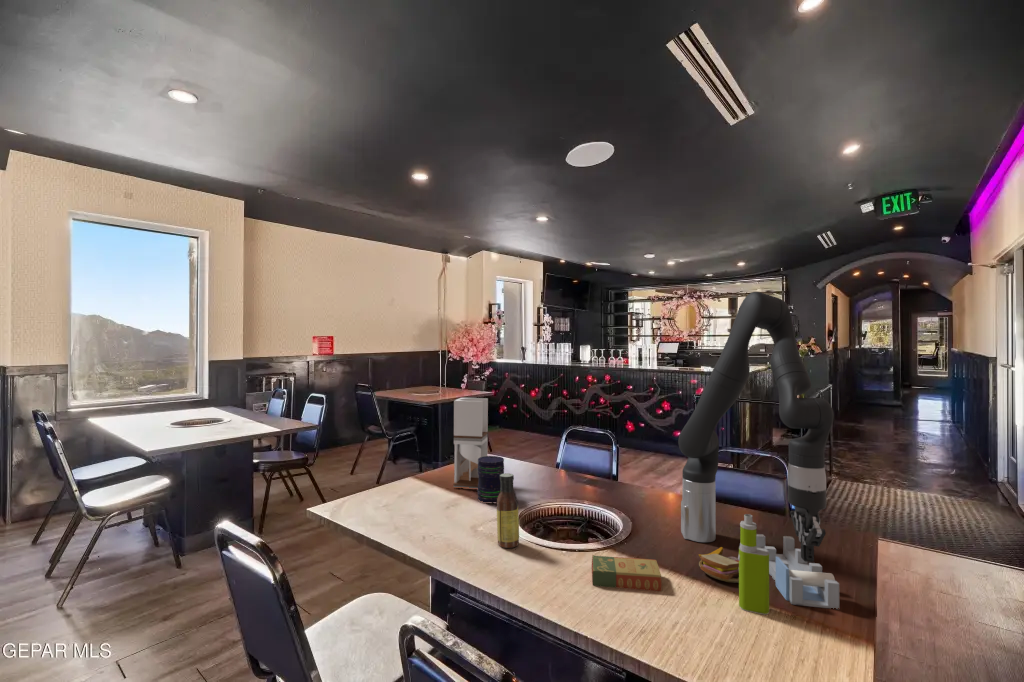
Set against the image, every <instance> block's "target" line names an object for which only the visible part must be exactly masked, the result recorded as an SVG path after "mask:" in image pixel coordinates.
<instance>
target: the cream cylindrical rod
mask: <svg viewBox="0 0 1024 682" xmlns="http://www.w3.org/2000/svg"><path fill="white" fill-rule="evenodd" d="M789 576H794V577H800V578H801V579H802V580H803V585H805V586H815V587H825V579H827V580H836V579H835V576H834V574H833V573H830V572H822V573H821V572H809V571H798V570H789Z"/></svg>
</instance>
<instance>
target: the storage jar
mask: <svg viewBox="0 0 1024 682" xmlns="http://www.w3.org/2000/svg"><path fill="white" fill-rule="evenodd" d="M501 474H505V458H504V457H502V456H497V455H487V456H485V457H480V458H478V475H479V480H478V490H477V500H478V499H479V500H480V501H483V502H497V498H498V495H499V494H500V491H501V490H500V488H501V481H500V475H501Z"/></svg>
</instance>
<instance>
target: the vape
mask: <svg viewBox="0 0 1024 682" xmlns="http://www.w3.org/2000/svg"><path fill="white" fill-rule="evenodd" d="M743 518H744V520H741V521H740V523H739V526H740V528H739V530H740V533H739V537H740V538H739V539H740V543H739V546H738V556H737V558H738V559H739V583H738V606H739V608H740V609H741V610H742V611H746V612H751V613H755V614H760V615H768V614H770V574H769V551H768V550H766V549H764V548H759V547H757V545H756V534H757V525H758V524H757V523H756V522H754V521H753V515H752V514H751V513H745V514H744V515H743Z"/></svg>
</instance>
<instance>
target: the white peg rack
mask: <svg viewBox="0 0 1024 682" xmlns="http://www.w3.org/2000/svg"><path fill="white" fill-rule="evenodd" d="M782 538H783V540H782V541H783V543H782V545H783V546H782V550H783V552H782V553H777V549H776V548H775V546H768V545H766V536H765V534H762V533H756V545H757V547H759V548H764V549H766V550H768V551H769V576H770V577H771V576H772V577H771V578H772V580H773V581H774V580H775V581H774V582H775V587H776V588H777V590H778V592H779V593H780V594H781V595H782V596H783V598H784V599H785V601H789V603H790V605H795V606H804V607H814V608H820V609H821V608H822V609H831V608H833V609H832V610H839V609H840V582H838V581H837V580H836V579H835V580H827V579H825V587H815V586H805V585H803V580H802V579H801V578H800V577H794V576H789V570H798V571H809V572H821V573H823V566H822V565H821V564H820V563H815V562H805V561H804V560H803V559H802V558H801V548H795V547H796V546H795V543H796V542H795V541H796V540H795V538H794V536H789V535H788V536H787V535H784V536H783V535H782ZM834 608H836V609H834ZM838 608H839V609H838Z"/></svg>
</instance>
